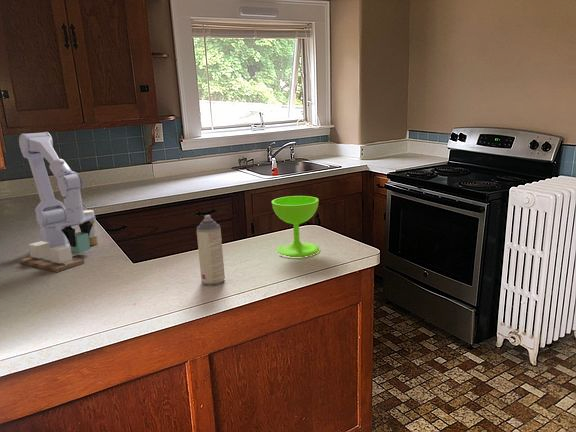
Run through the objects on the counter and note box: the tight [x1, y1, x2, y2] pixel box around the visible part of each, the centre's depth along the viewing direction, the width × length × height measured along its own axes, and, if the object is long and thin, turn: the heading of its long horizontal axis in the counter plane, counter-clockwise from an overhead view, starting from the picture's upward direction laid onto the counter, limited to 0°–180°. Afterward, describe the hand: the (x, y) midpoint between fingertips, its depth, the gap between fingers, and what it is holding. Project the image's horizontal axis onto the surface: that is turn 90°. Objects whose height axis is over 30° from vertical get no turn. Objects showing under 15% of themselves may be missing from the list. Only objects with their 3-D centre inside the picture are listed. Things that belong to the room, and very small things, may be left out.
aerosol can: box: [196, 214, 226, 287], centre depth 135 cm, size 7×7×20 cm
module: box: [70, 231, 91, 253], centre depth 168 cm, size 5×4×6 cm
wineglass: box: [271, 195, 320, 257], centre depth 160 cm, size 16×16×18 cm
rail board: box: [19, 256, 85, 273], centre depth 162 cm, size 22×10×1 cm, turn 58°
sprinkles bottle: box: [83, 209, 99, 246], centre depth 181 cm, size 5×5×13 cm
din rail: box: [29, 254, 74, 265], centre depth 162 cm, size 21×4×1 cm, turn 58°
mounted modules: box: [28, 240, 73, 263], centre depth 161 cm, size 18×4×4 cm, turn 58°
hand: (79, 244), depth 168 cm, fingers closed on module, 4 cm apart
